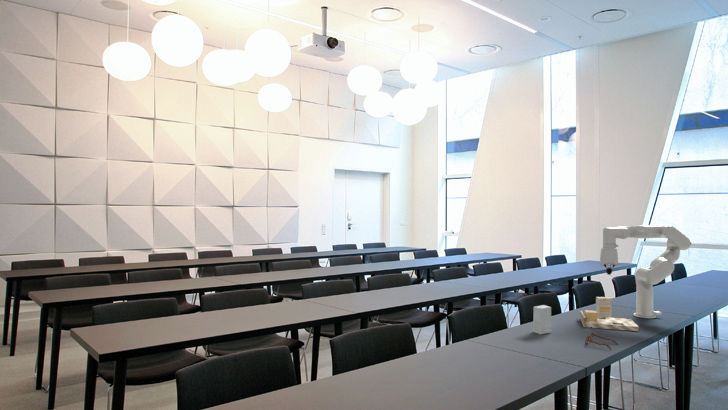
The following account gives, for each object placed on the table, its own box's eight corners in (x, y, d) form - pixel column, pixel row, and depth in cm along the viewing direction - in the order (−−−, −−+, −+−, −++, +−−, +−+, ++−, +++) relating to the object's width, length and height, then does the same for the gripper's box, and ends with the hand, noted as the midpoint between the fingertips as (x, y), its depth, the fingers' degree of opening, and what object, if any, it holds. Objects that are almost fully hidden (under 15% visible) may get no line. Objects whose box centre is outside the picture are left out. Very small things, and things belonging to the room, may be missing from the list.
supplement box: (608, 317, 314) (608, 296, 314) (611, 318, 309) (612, 298, 309) (595, 316, 315) (595, 296, 315) (598, 318, 310) (598, 297, 310)
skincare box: (543, 330, 279) (543, 304, 279) (551, 333, 274) (551, 306, 274) (532, 332, 276) (532, 305, 276) (540, 334, 270) (540, 308, 270)
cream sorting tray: (631, 323, 298) (631, 314, 298) (638, 331, 279) (638, 321, 279) (579, 319, 307) (580, 310, 307) (583, 326, 288) (583, 317, 288)
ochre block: (595, 318, 298) (595, 310, 298) (597, 321, 292) (597, 312, 292) (585, 318, 300) (585, 310, 300) (586, 320, 294) (586, 312, 294)
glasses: (591, 340, 261) (591, 331, 261) (618, 345, 253) (618, 335, 253) (584, 345, 251) (584, 336, 251) (612, 350, 243) (612, 340, 243)
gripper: (620, 246, 319) (620, 274, 319) (595, 245, 323) (595, 273, 323) (623, 247, 311) (622, 275, 312) (597, 246, 316) (597, 274, 316)
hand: (609, 274), depth 317 cm, fingers closed
